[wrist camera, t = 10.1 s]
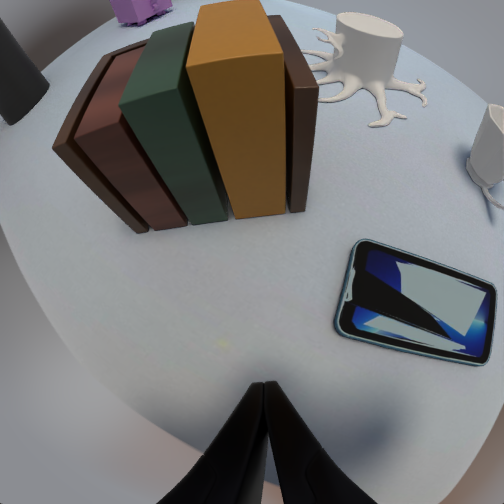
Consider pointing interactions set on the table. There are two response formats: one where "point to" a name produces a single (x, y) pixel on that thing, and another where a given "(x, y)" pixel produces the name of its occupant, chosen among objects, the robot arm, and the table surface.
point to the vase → (17, 79)
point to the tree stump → (364, 61)
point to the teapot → (138, 10)
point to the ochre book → (242, 102)
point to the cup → (488, 152)
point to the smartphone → (416, 305)
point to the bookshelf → (171, 133)
